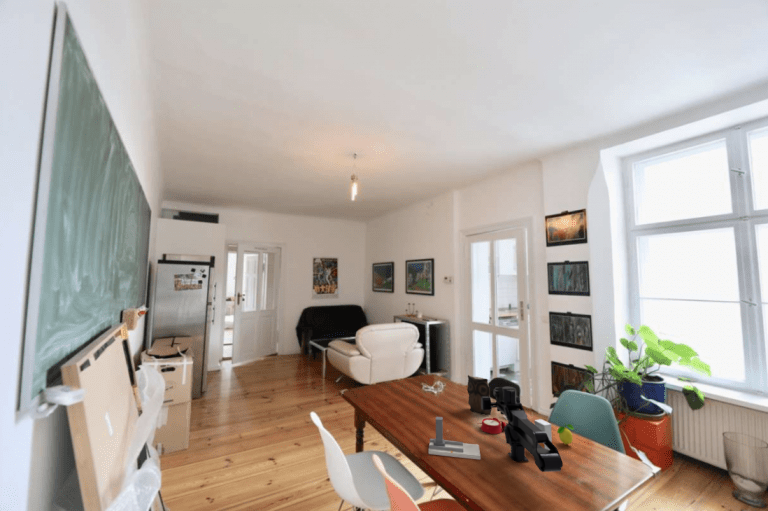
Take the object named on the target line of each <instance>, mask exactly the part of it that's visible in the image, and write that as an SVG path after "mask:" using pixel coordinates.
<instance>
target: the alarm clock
mask: <svg viewBox="0 0 768 511" xmlns="http://www.w3.org/2000/svg"><path fill="white" fill-rule="evenodd" d="M479 424H481V426H480V429H481V431H482V432H485V433H487V434H491V435H498V434H502V432H503V430H504V427H505V426H506V422H505V421H501V420H499V418H497V417H492V418H491V417H489V418H488V417H487V418H486V417H485V418H482V420H481V422H477V425H479Z"/></svg>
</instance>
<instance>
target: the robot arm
mask: <svg viewBox="0 0 768 511" xmlns="http://www.w3.org/2000/svg"><path fill="white" fill-rule="evenodd" d="M492 392H493V393H492V395H493V396H494V397H495V401H493V402H492V398H491V396H490V397H489V396H484V397H481V409H482V410H483V411H491V412H492V410H491V408H492V409H494V408H496V411H497V412H500V413H499V414H500V415H503V416H504V417H505V419H506V421H507V422H505V424H506V426H505V427H504V429H503V431H504V436H505V437H504V438H505V442H506V444H507V445H509V446H510V452H507V456H509V458H510V459H511V460H512V461H513V462H529V459H528V458H527V456H526V451H527V452H528V453H529V454H530V455H531V456H532V457H533V460H534V464H535V466H536V467H537V468H538V470H539V471H540V472H541V473H549V472H551V473H552V472H554V473H555V472H561V470H562V468H563V466H564V464H563V460H562V458H561V454H560V452H559V450H558V448H557V447H556V446H555V444H554V443H553V441H552V442H551V441H550V440H549V438H548V436H547V433H546V432H544V431H542V430H540V429H539V428H538V427H537V426H536V425H535V423H534V422H532V421H531V420H530V419H528V414H527V413H526V411H525V409H524V406H523V404H522V403H521V398H520V397H519V396H518V395H517V388H516V387H513V386H506V385H505V386H500V387H494V389H492ZM490 398H491V399H490ZM538 443H544V444H545V445H546V446H547V447H548V448H549V449H550V450H548V449H544V448H543V447H542V446H540V445H539V444H538Z"/></svg>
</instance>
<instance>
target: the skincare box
mask: <svg viewBox="0 0 768 511" xmlns="http://www.w3.org/2000/svg"><path fill="white" fill-rule="evenodd" d="M533 424H534V425H536V426H537V427H538V428H539V429H540V430H542V431H544V432H546V433H547V436H548V438H549V440H550V441H551V442H552V443H553V439H552V438H553V437H552V423H549V422H548V421H546V420H544V419H542V418H539V419H535V420H534V422H533ZM538 444H539V445H540V446H542V447H543V448H544V449H548V450H550V449H549V448H548V447H547V446H546V445H545V444H544V443H538Z"/></svg>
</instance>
